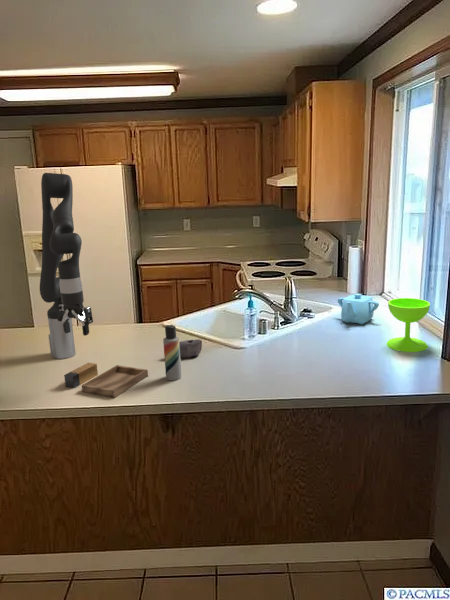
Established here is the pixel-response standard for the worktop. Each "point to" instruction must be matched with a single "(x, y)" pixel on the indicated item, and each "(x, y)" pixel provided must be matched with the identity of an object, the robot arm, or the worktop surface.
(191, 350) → the perforated stone tool
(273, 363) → the worktop surface
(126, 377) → the brown wooden tray
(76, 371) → the battery cell
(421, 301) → the wineglass
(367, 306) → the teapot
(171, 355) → the lotion bottle
